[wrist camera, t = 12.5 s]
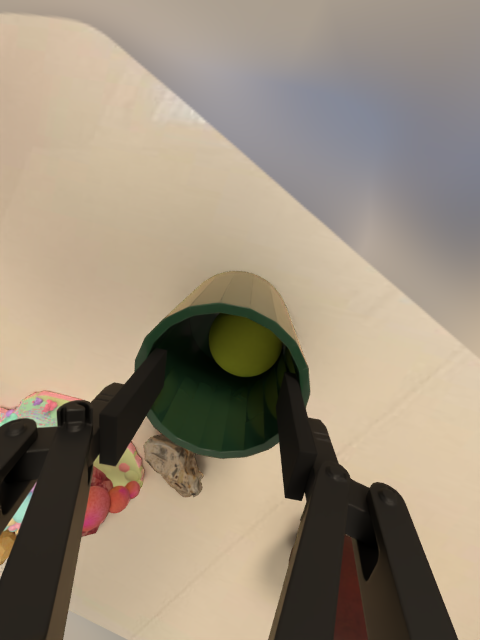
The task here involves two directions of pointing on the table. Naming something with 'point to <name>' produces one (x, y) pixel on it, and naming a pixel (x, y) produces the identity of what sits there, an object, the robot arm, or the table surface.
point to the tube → (222, 370)
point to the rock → (174, 465)
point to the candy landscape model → (107, 481)
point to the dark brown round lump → (349, 599)
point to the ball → (243, 345)
